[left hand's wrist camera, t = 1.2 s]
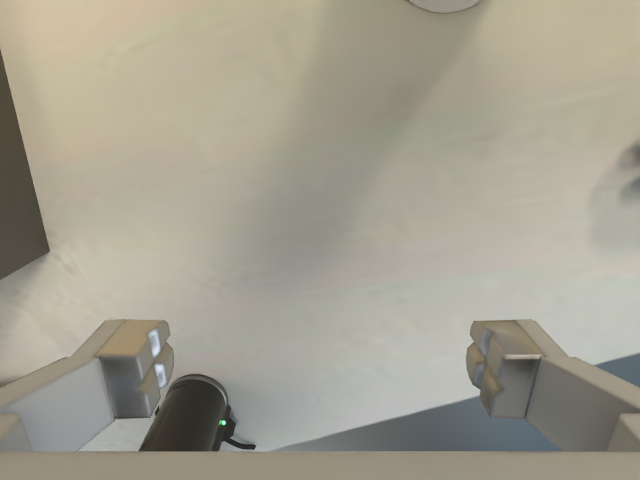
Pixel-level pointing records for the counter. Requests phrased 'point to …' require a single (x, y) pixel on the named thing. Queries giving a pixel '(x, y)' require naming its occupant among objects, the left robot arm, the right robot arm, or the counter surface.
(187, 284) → the counter surface
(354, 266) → the counter surface
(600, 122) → the counter surface
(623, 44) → the counter surface
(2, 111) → the box
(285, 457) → the left robot arm
